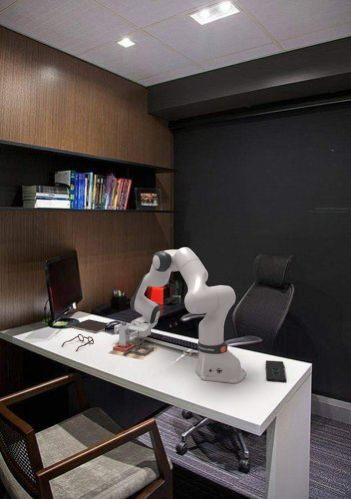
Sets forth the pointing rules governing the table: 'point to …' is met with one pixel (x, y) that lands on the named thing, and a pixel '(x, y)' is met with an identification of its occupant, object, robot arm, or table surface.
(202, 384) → the table surface
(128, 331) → the lock bolt
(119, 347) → the socket
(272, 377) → the smart home device
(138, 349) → the flat brown board
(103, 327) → the hardcover book
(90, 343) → the glasses
